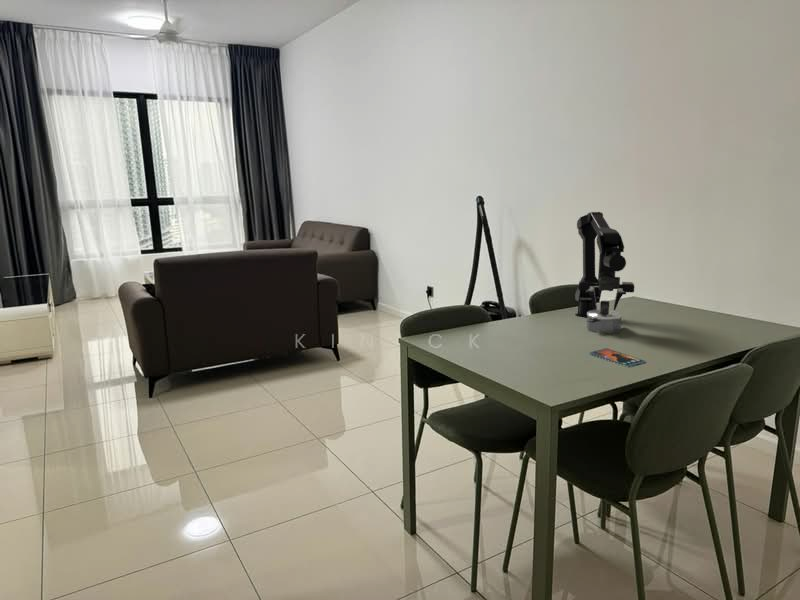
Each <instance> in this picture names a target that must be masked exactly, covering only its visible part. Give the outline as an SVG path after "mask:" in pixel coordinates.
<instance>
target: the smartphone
mask: <svg viewBox="0 0 800 600" xmlns="http://www.w3.org/2000/svg"><path fill="white" fill-rule="evenodd" d="M590 354H591V356H593V355H594V357H596V356H597V358H599V357H600V358H599V359H602V358H603V360H605V359H606V360H605V361H608V360H609V361H608V362H611V361H612V362H611V363H614V362H615V364H617V363H618V365H620V364H621V365H620V366H623V365H625V366H624V367H626V366H628V367H627V368H631V367H630V366H632V367H635V366H634V365H636V366H638V365H639V364H640V365H643V364H647V361H646V360H643V359H640V358H637V357H634V356H630V355H628V354H626V353H624V352H623V353H622V352H619V351H616V350H613V349H611V348H607V347H605V348H602V349H597V350H594V351H590V352H589V355H590ZM642 363H643V364H642ZM637 364H638V365H637Z"/></svg>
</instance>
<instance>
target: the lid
mask: <svg viewBox="0 0 800 600" xmlns="http://www.w3.org/2000/svg"><path fill="white" fill-rule="evenodd" d="M587 316H588V317H590V318H594V319H599V320H617V319H621V320H622V317H623V314H622V313H621V312H619V311H616V310H612V309H611V310H610V300H600V307H599V309H597V310H591V311H588V312H587Z"/></svg>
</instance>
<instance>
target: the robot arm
mask: <svg viewBox="0 0 800 600" xmlns="http://www.w3.org/2000/svg"><path fill="white" fill-rule="evenodd" d="M576 221H577V222H576V229H577V231H578V232H577V233H578V235H579V237H580V238H581V240H582V277H581V278H580V280H579V281H578V286H577V288H576V291H575V294H574V297H575V298H574V299H575V301H577V302H578V303H577V312H576V313H575V314H574V315H575V316H579V317H583V318H587V312H588V311H591V310H598V307H597V306H598V305H597V302H601V296H602V292H603V291H608V292H613V291H614V290H616V292H615V293H616V294H615V298H614V303H613V304H614V305H613V311H616V308H617V307H618V304H619V302H620V300H621V298H622V297H623V295H626V294H627V293H635V284H634V282H633V281H622V282H621V277H620V276H616V272H621V271H623V270H624V269H625V268H626V265H627V261H626V258H625V257H624V256H623V255H621V254H622V253H624V249H625V245H624V242H623V238H622V236H621V234H620V232H619V231H617V229H614V228H611V227H610V226H609V224H608V222H607V220H606V219H605V218H604V214H603V212H600V211H590V212H588V213H587V214H584V215H583V216H580V217H579V218H578V220H576ZM596 244H597V248H598V252H599V255H598V257H599V260H598V273H597V276H598V277H597V276H596Z"/></svg>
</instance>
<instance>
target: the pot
mask: <svg viewBox="0 0 800 600" xmlns="http://www.w3.org/2000/svg"><path fill="white" fill-rule="evenodd" d="M586 319H587V320H586V329H587V330H588V331H589V332H593V333H598V334H615V333H619V332H621V330H622V329H621V328H622V318H621V319H617V320H599V319H594V318H590V317H588V316H587V317H586Z"/></svg>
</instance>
